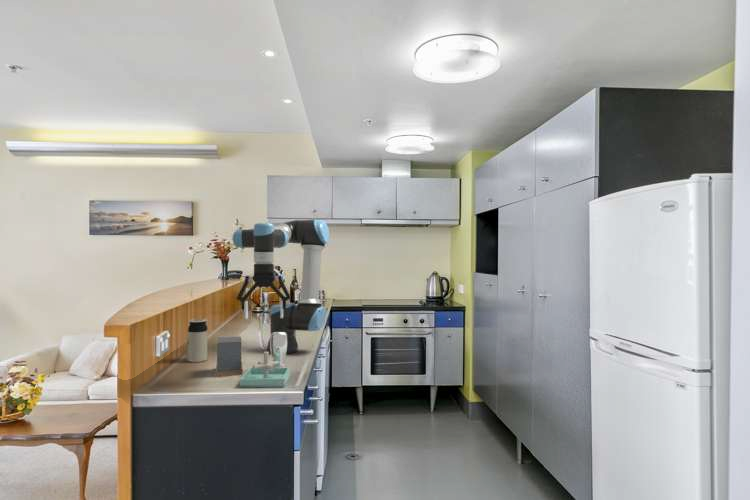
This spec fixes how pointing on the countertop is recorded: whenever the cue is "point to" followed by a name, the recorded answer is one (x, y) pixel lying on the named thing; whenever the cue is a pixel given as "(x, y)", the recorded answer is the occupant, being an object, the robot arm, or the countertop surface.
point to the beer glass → (278, 348)
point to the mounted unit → (229, 357)
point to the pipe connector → (266, 365)
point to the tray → (256, 378)
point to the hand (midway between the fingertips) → (264, 318)
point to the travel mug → (197, 340)
